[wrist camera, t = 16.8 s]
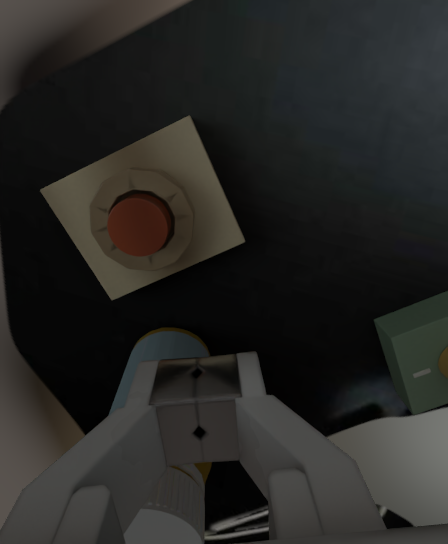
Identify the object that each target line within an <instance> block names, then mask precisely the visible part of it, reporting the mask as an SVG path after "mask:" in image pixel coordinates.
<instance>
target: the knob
mask: <svg viewBox="0 0 448 544" xmlns="http://www.w3.org/2000/svg"><path fill="white" fill-rule="evenodd" d="M438 366H439V370H440V372H441V373H442V374H443V375H444V376H445V377H446V378H447V379H448V347H447V348H446V349H445V350H444V351H443V352H442V354H441V355H440V358H439V361H438Z"/></svg>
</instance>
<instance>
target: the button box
mask: <svg viewBox="0 0 448 544" xmlns="http://www.w3.org/2000/svg"><path fill="white" fill-rule="evenodd" d="M40 191H41V193H42V194H43V196H44V197H45V199H46V200H47V202H48V204H49V205H50V207H51V208H52V210H53V211H54V213H55V214H56V216H57V217H58V219H59V220H60V222H61V223H62V225H63V226H64V228H65V230H66V231H67V233H68V234H69V236H70V237H71V239H72V240H73V242H74V243H75V245H76V246H77V248H78V249H79V251H80V252H81V254H82V256H83V257H84V259H85V260H86V262H87V263H88V265H89V266H90V268H91V269H92V271H93V272H94V274H95V275H96V277H97V278H98V280H99V282H100V283H101V285H102V286H103V288H104V289H105V291H106V292H107V294H108V295H109V297H110V298H111V300H114V299H117V298H119V297H121V296H123V295H126V294H128V293H130V292H132V291H135V290H137V289H139V288H142V287H144V286H146V285H148V284H151V283H153V282H155V281H158V280H160V279H162V278H164V277H167V276H169V275H171V274H174V273H176V272H178V271H180V270H183V269H185V268H187V267H189V266H192V265H194V264H196V263H199V262H201V261H203V260H205V259H208V258H210V257H212V256H215V255H217V254H219V253H221V252H224V251H226V250H228V249H230V248H233V247H235V246H237V245H240V244H242V243H244V242H245V239H244V236H243V234H242V231H241V229H240V227H239V225H238V222H237V220H236V218H235V215H234V213H233V211H232V209H231V206H230V204H229V202H228V199H227V197H226V195H225V193H224V190H223V188H222V186H221V184H220V181H219V179H218V177H217V174H216V172H215V170H214V168H213V165H212V163H211V161H210V158H209V156H208V154H207V152H206V149H205V147H204V145H203V143H202V140H201V138H200V136H199V133H198V131H197V129H196V127H195V124H194V122H193V120H192V118H191V117H190V116H187V117H185V118H183V119H181V120H179V121H177V122H175V123H173V124H171V125H169V126H167V127H165V128H163V129H161V130H159V131H157V132H155V133H153V134H151V135H149V136H147V137H145V138H143V139H141V140H139V141H137V142H135V143H133V144H131V145H129V146H127V147H125V148H123V149H121V150H119V151H117V152H115V153H113V154H111V155H109V156H107V157H105V158H103V159H101V160H99V161H97V162H95V163H93V164H91V165H89V166H87V167H85V168H83V169H81V170H79V171H77V172H75V173H73V174H71V175H69V176H67V177H65V178H63V179H61V180H59V181H57V182H55V183H53V184H51V185H49V186H47V187H45V188H43V189H41V190H40ZM134 194H147V195H150V196H153V197H155V198H156V199H158V200H159V201H161V202H162V203H163V204H164V206H165V207H166V208H167V210H168V212H169V215H170V219H171V228H170V232H169V234H168V237H167V239H166V241H165V243H164V245H163V246H162V247H161V248H160V249H159V250H158V251H157V252H155V253H154V254H151V255H149V256H143V257H137V256H132V255H129V254H126V253H124V252H123V251H121V250H120V249H119V248H118V247H116V245H115V244H114V243H113V242H112V240H111V238H110V236H109V233H108V228H107V221H108V217H109V214H110V212H111V210H112V209H113V208H114V207H115V205H117V204H118V203H119V202H121V201H122V200H124V199H125V198H127V197H128V196H131V195H134Z"/></svg>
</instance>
